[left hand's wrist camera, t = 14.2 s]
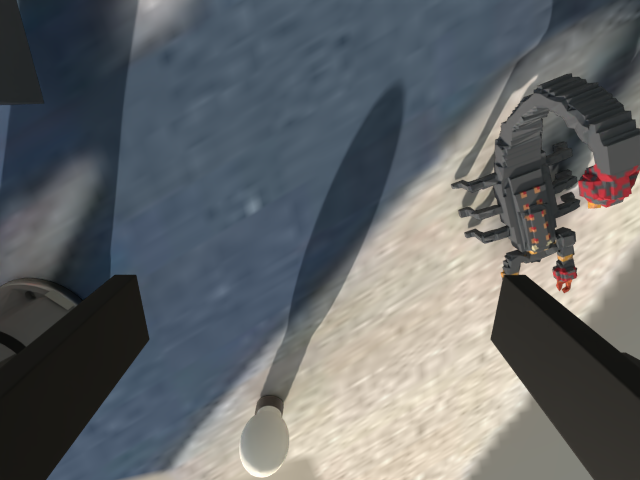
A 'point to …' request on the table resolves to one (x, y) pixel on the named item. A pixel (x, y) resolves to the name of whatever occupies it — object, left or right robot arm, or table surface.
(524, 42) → the table surface
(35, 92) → the bar
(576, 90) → the toy
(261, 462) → the light bulb
